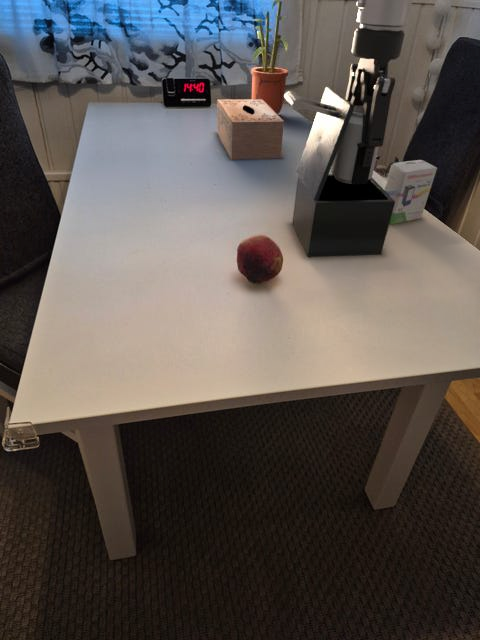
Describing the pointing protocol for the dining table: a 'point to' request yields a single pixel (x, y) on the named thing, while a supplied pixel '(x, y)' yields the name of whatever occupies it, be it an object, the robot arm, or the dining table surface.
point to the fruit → (259, 259)
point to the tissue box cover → (249, 129)
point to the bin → (342, 218)
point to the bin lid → (321, 136)
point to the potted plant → (269, 68)
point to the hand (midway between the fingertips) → (351, 174)
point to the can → (350, 148)
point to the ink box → (409, 188)
